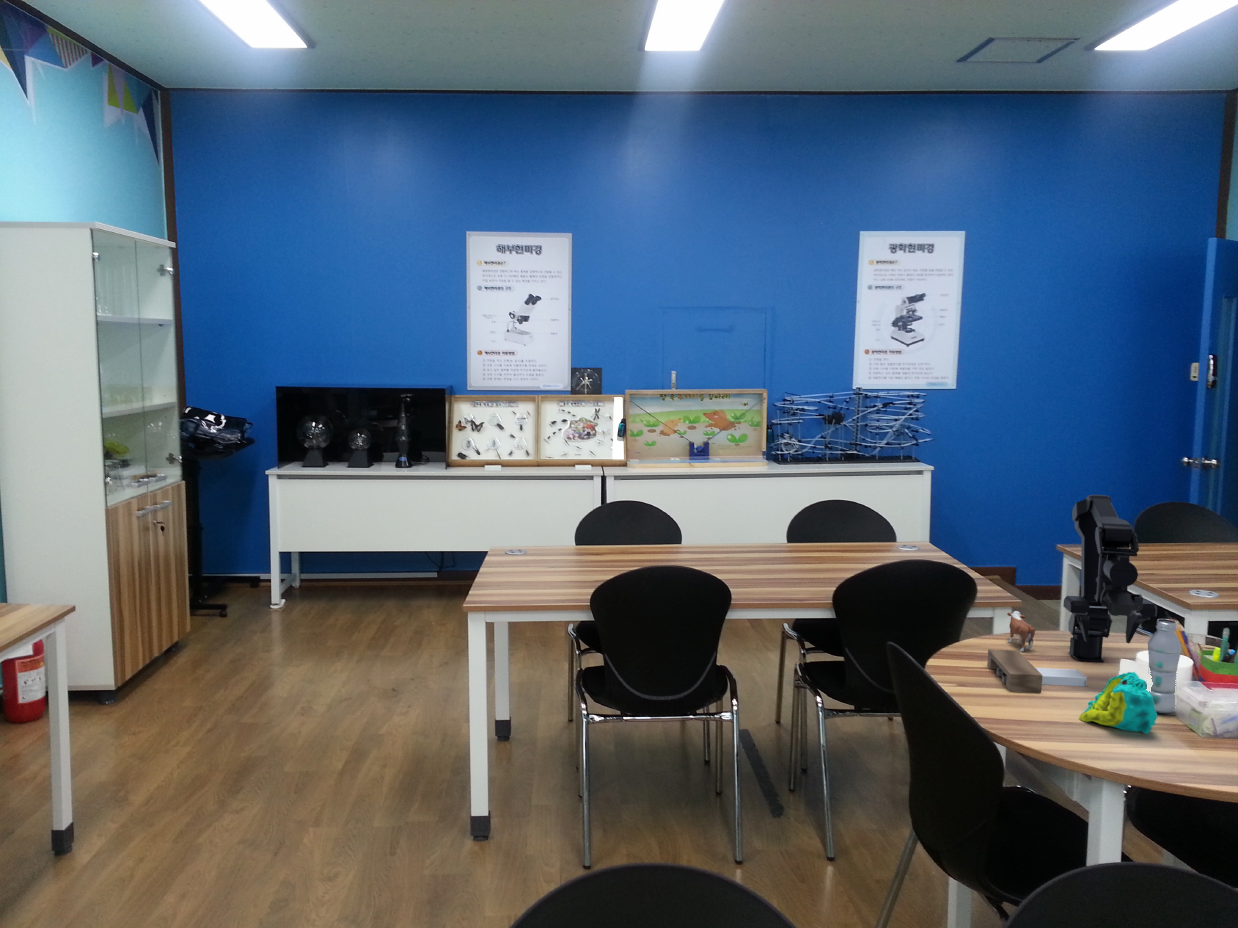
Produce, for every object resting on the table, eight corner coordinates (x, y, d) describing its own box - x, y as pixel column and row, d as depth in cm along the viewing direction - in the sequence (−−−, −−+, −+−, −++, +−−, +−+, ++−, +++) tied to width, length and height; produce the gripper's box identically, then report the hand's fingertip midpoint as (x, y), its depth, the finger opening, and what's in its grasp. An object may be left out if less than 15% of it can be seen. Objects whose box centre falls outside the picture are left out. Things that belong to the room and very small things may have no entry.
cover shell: (1076, 677, 226) (1077, 669, 226) (1086, 686, 220) (1087, 678, 220) (1028, 675, 227) (1029, 667, 227) (1037, 684, 221) (1037, 675, 221)
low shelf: (1016, 667, 233) (1017, 650, 233) (1041, 692, 215) (1042, 675, 215) (987, 665, 234) (988, 649, 233) (1009, 691, 216) (1010, 673, 216)
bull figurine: (1019, 638, 257) (1021, 609, 256) (1036, 654, 244) (1038, 623, 243) (1003, 637, 257) (1004, 608, 256) (1018, 653, 244) (1020, 622, 243)
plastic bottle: (1144, 714, 203) (1151, 623, 201) (1140, 703, 210) (1147, 615, 207) (1179, 718, 201) (1186, 627, 199) (1173, 707, 207) (1181, 618, 205)
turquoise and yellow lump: (1064, 690, 197) (1086, 650, 205) (1082, 735, 201) (1104, 694, 208) (1139, 698, 186) (1160, 655, 193) (1157, 745, 189) (1178, 702, 197)
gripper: (1081, 583, 213) (1076, 650, 215) (1170, 586, 210) (1164, 654, 212) (1064, 571, 224) (1060, 635, 225) (1149, 575, 221) (1144, 639, 223)
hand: (1106, 641), depth 221 cm, fingers open, 9 cm apart
